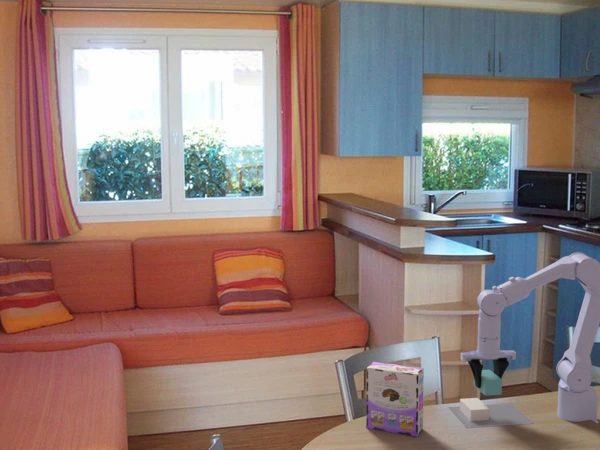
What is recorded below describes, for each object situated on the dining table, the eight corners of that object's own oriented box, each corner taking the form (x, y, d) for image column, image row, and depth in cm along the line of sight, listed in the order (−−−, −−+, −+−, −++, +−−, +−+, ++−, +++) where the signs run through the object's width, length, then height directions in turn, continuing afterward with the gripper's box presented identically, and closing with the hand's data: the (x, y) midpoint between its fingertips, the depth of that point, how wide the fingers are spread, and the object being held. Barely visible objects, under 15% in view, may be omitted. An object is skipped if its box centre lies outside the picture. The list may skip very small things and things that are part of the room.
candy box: (423, 429, 190) (424, 367, 188) (417, 437, 185) (418, 374, 182) (372, 420, 196) (373, 360, 193) (365, 428, 190) (365, 366, 188)
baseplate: (510, 406, 204) (511, 392, 204) (533, 427, 190) (534, 412, 190) (448, 410, 202) (448, 396, 201) (466, 431, 188) (467, 416, 187)
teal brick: (489, 383, 199) (489, 369, 198) (501, 394, 191) (502, 379, 191) (473, 384, 198) (473, 370, 198) (484, 395, 191) (485, 380, 190)
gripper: (508, 330, 198) (506, 379, 200) (456, 333, 196) (455, 382, 198) (520, 338, 191) (518, 388, 193) (466, 340, 189) (465, 391, 191)
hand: (487, 386), depth 195 cm, fingers closed on teal brick, 4 cm apart
